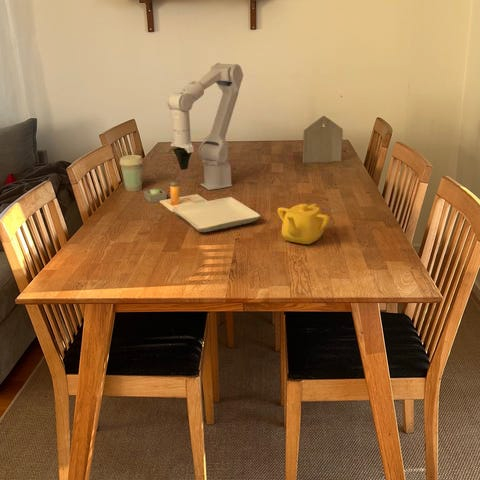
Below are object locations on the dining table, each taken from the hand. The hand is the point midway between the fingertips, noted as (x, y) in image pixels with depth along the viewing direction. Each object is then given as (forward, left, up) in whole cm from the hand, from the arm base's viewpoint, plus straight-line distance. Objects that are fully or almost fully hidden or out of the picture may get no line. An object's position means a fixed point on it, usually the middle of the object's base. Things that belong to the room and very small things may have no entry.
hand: (183, 169), depth 198 cm
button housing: (+10, -3, -10) cm, 14 cm away
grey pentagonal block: (-69, -17, -10) cm, 72 cm away
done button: (+10, -3, -11) cm, 15 cm away
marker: (+7, +7, -9) cm, 13 cm away
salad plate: (+1, +27, -10) cm, 29 cm away
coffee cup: (+13, -18, -10) cm, 24 cm away
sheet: (+3, +7, -10) cm, 12 cm away
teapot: (-13, +54, -10) cm, 56 cm away
